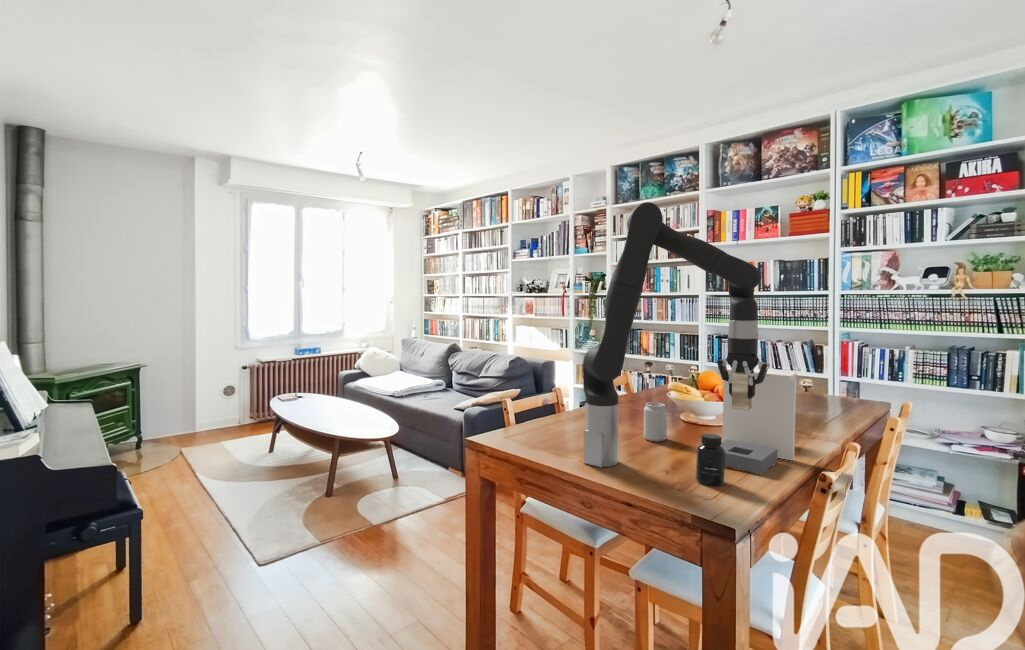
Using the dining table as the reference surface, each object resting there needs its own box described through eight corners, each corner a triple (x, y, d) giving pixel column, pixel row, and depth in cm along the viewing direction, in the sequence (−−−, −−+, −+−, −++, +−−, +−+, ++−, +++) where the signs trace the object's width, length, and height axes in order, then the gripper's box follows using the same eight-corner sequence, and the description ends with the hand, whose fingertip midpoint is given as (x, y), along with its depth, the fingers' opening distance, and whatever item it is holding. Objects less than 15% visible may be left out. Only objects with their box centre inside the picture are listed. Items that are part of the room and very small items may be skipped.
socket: (761, 475, 133) (761, 460, 133) (708, 463, 142) (709, 449, 142) (777, 462, 143) (777, 448, 143) (727, 452, 153) (727, 439, 152)
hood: (787, 465, 140) (790, 375, 139) (716, 451, 154) (717, 368, 153) (794, 460, 145) (796, 373, 144) (724, 446, 159) (725, 366, 157)
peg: (746, 410, 138) (747, 374, 137) (731, 408, 141) (732, 373, 140) (751, 408, 141) (752, 373, 140) (736, 406, 144) (737, 371, 143)
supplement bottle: (707, 488, 124) (708, 440, 123) (690, 478, 131) (691, 433, 130) (730, 485, 126) (731, 438, 125) (712, 476, 132) (713, 431, 132)
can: (664, 436, 170) (664, 401, 170) (668, 442, 163) (669, 406, 162) (641, 435, 171) (642, 401, 170) (645, 442, 164) (645, 406, 163)
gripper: (712, 336, 142) (711, 395, 143) (766, 338, 132) (764, 402, 133) (722, 334, 147) (721, 392, 148) (774, 336, 137) (773, 398, 138)
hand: (741, 396), depth 140 cm, fingers closed on peg, 4 cm apart
